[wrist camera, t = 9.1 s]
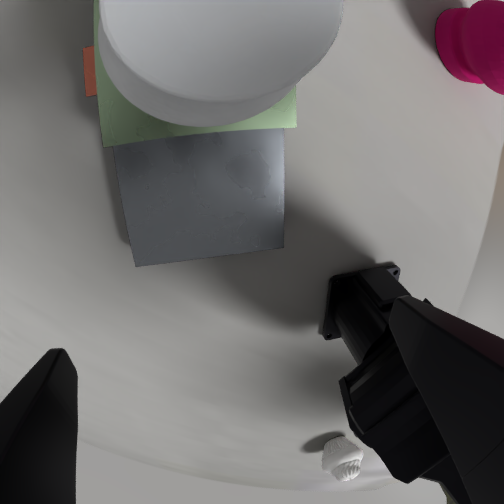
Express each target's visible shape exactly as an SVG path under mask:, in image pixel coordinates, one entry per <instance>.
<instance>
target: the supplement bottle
mask: <svg viewBox="0 0 504 504" xmlns="http://www.w3.org/2000/svg"><path fill="white" fill-rule="evenodd" d="M343 2H344V0H99V15H100V18H99V25H98V45H99V52H100V56H101V59H102V62H103V65H104V68H105V70H106V72H107V74H108V76H109V78H110V79H111V81H112V82H113V84H114V85H115V87H116V88H117V89H118V90H119V92H120V93H121V94H122V95H123V96H124V97H125V98H126V99H127V100H128V101H130V102H131V103H132V104H133V105H135V106H136V107H138V108H139V109H141V110H142V111H144V112H145V113H147V114H149V115H151V116H153V117H156V118H158V119H160V120H164V121H167V122H170V123H174V124H178V125H184V126H193V127H212V126H222V125H228V124H232V123H236V122H240V121H243V120H246V119H248V118H251V117H254V116H256V115H258V114H260V113H262V112H263V111H265V110H267V109H269V108H271V107H272V106H273V105H275V104H276V103H278V102H279V101H280V100H281V99H283V98H284V97H285V96H286V95H287V94H288V93H289V92H290V91H291V90H292V89H293V88H294V87H295V85H296V84H297V83H298V82H299V81H300V79H301V78H302V77H303V76H305V75H306V74H307V73H308V72H310V71H311V70H312V69H313V68H314V67H315V66H316V65H317V64H318V63H319V62H320V61H321V59H322V58H323V57H324V56H325V55H326V53H327V52H328V50H329V49H330V47H331V45H332V44H333V42H334V40H335V38H336V36H337V33H338V30H339V27H340V24H341V20H342V15H343Z"/></svg>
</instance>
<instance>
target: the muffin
mask: <svg viewBox="0 0 504 504" xmlns="http://www.w3.org/2000/svg"><path fill="white" fill-rule="evenodd" d="M362 457H363V451H362V449H360V448H359V447H358V446H357V445H356V444H354V443H353V442H351V441H350V440H348V439H347V438H345V437H343V436H340V437H336V438H333V439H331V440H329V441H328V442H327V443H326V444H325V445H324V450H323V456H322V469H323V470H324V471H325V472H327V473H329V474H332V475H333V476H335V477H336V479H337V480H339V481H348V480H352V479H353V478H355V477H356V476H357V475H358V474H359V473H360V467H359V466H360V463H361V462H360V461H361V460H362Z"/></svg>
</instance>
